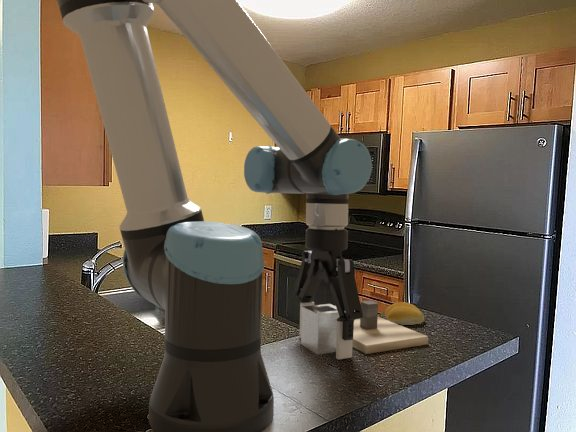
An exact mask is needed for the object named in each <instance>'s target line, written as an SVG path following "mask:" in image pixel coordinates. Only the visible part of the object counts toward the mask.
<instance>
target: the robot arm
mask: <svg viewBox="0 0 576 432" xmlns="http://www.w3.org/2000/svg"><path fill="white" fill-rule="evenodd" d="M55 1H56V2H57V5H58V9H59V12H60V15H61V19H62V23H63V25H64V26H65V27H66V28H68V29H69V30H71V31H72V32H73V33H74V34H76V35H77V36H79V39H80V42H81V46H82V50H83V54H84V57H85V61H86V64H87V68H88V72H89V76H90V79H91V82H92V87H93V91H94V94H95V99H96V102H97V105H98V110H99V113H100V115H101V120H102V124H103V127H104V131H105V135H106V139H107V142H108V145H109V149H110V150H109V151H110V153H111V158H112V161H113V164H114V169H115V172H116V176H117V179H118V182H119V187H120V190H121V195H122V199H123V202H124V205H125V209H126V214H125V216H124V218H123V220H122V221H121V223H120V224H119V231H120V234H121V239H122V242H123V246H124V251H123V255H122V269H123V273H124V276H125V278H126V280H127V282H128V284H129V286H130V287H131V288H132V290H133V291H134V292H136V294H137V295H138V296H139V297H141V298H142V299H144V301H147V302H150V303H151V304H153V305H155V306H156V307H158V308H160V309H162V310H163V311H164V355H163V360H162V362H161V364H160V365H161V366H160V368H159V371H158V374H157V377H156V380H155V382H154V383H155V384H154V386H153V389H152V391H151V394H150V398H149V402H148V424H149V426H150V428H151V429H152V430H153V432H262V431H263V430H265V429H266V428H267V427H268V426H269V425H271V422H272V420H273V419H274V413H275V412H274V410H275V409H274V408H275V407H274V406H275V401H274V400H275V398H274V393H273V389H272V386H271V382H270V378H269V376H268V373H267V368H266V367H265V363H264V358H263V355H262V348H261V347H262V346H261V344H262V343H261V341H262V339H261V338H262V309H263V307H262V306H263V304H262V303H263V271H264V269H265V262H264V253H263V242H262V240H261V237H260V236H259V235H258V233H257V232H256V231H255V230H252V229H250V228H247V227H245V226H241V225H239V224H232V223H231V224H230V223H225V222H219V221H205V219H204V215H203V211H202V207H201V206H200V205H198V204H196V203H195V202H193V201H192V200H190V199H189V198H188V194H187V190H186V185H185V181H184V178H183V173H182V169H181V166H180V161H179V157H178V153H177V150H176V149H177V147H176V145H175V140H174V137H173V132H172V129H171V124H170V120H169V116H168V111H167V108H166V104H165V100H164V95H163V90H162V87H161V83H160V79H159V78H160V77H159V74H158V70H157V67H156V66H157V65H156V62H155V57H154V54H153V49H152V45H151V41H150V37H149V36H150V35H149V33H148V29H147V28H148V25H149V23H150V21H151V20H152V18H153V16H154V15H155V8H154V5H153V4H156V5H157V6H158V7H159V8H160V9H161V10H162V11H163V13H164V14H165V15H166V16H167V17H168V18H169V19H170V21H171V22H172V23H173V24H174V25H175V27H177V29H178V30H179V31H180V33H181V34H182V35H183V37H185V39H187V41H188V42H189V44H191V46H192V47H193V48H194V49H195V50H196V52H197V53H198V54H199V55H200V56H201V58H202V59H203V60H204V61H205V62H206V63H207V65H208V66H209V67H210V68H211V69H212V71H213V72H214V73H215V74H216V75H217V77H219V79H220V80H221V81H222V83H223V84H225V86H226V87H227V88H228V89H229V91H230V92H231V93H232V94H233V95H234V96H235V98H236V99H237V100H238V102H240V104H242V106H243V107H244V108H245V109H246V111H247V112H248V113H249V114H250V115H251V117H253V119H254V120H255V121H256V122H257V123H258V125H259V126H260V127H261V129H263V130H264V132H265V133H266V134H267V136H268V137H269V138H270V139H271V140H272V141H273V143H274V144H275V145H276V146H272V145H267V146H266V145H265V146H262V145H257V146H254V147H252V148H251V149H250V150H249V151H248V153H247V154H246V156H245V159H244V164H243V166H244V167H243V176H244V180H245V183H246V185H247V187H248V188H249V189H250V190H251V191H252V192H255V193H262V194H263V193H264V194H270V195H271V194H299V195H300V194H303V195H304V194H305V197H306V199H305V200H306V203H305V224H306V225H307V226H308V228H306V230H305V248H306V249H307V250H303V251H302V252H301V264H300V268H299V272H298V275H297V278H296V279H297V280H296V282H295V283H296V284H295V287H294V290H293V291H294V292H293V295H294V297H297V298H298V302H299V303H300V304H299V307H300V308H299V337H300V338H301V326H302V306H313V305H315V302H314V301H315V300H316V299H315V297H314V296H315V295H316V293H317V291H318V288H319V286H320V284H321V282H322V281H323V282H325V284H326V285H327V286H328V287H329V289H330V293H331V295H332V299H333V301H334V304H335V305H334V306H336V307H337V310H338V313H339V316H340V317H339V318H338V319H337V335H336V352H335V358H336V360H337V361H338V360H343V359H350V358H353V347H352V340H353V330H354V320H355V319H361V318H362V317H363V313H362V309H361V301H360V296H359V291H358V287H357V282H356V278H355V271H354V270H355V269H354V265H355V264H354V261H353V259H350V258H348V259H347V258H346V259H343V256H342V255H343V254H342V252H344V251H346V250H347V249H348V246H349V245H348V244H349V230H347V229H346V228H345V227H347V226H348V225H349V203H350V201H349V200H350V199H349V198H350V195H351V194H354V193H355V194H356V193H357V192H359V191H361V190H362V189H363V188H364V187H365V186H367V183H368V181H369V180H370V177H371V174H372V171H373V169H372V167H373V165H372V164H373V163H372V162H373V161H372V158H371V154H370V151H369V149H368V148H367V147H366V145H365V144H364V143H363V142H360V141H359V140H358V139H354V138H349V137H347V138H346V137H344V138H343V137H342V138H341V137H340V136H339V134H338V132H337V131H336V130H335V129H334V128H333V127H332V125H331V124H330V122H329V121H328V120H327V118H326V117H325V116H324V113H322V112H321V110H320V109H319V108H318V105H316V103H315V102H314V101H313V99H312V98H311V97H310V96H309V94H308V93H307V92H306V90H305V89H304V88H303V86H302V85H301V83H300V82H299V81H298V79H297V78H296V76H295V75H294V74H293V72H292V71H291V70H290V69H289V67H288V66H287V64H286V63H285V62H284V61H283V59H282V58H281V57H280V55H279V54H278V52H276V50H275V49H274V47H273V46H272V44H271V43H270V42H269V41H268V39H267V38H266V36H265V35H264V34H263V33H262V31H261V30H260V29H259V27H258V26H257V24H256V23H255V22H254V20H253V19H252V18H251V16H250V15H249V14H248V12H247V11H246V10H245V8H244V7H243V6H242V5H241V3H240V1H239V0H55Z"/></svg>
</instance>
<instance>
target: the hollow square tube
mask: <svg viewBox="0 0 576 432" xmlns="http://www.w3.org/2000/svg"><path fill="white" fill-rule="evenodd" d="M339 317H340V316H339V313H338V310H337V307H336V305H333V304H331V303H325V304H324V303H323V304H314V305H313V306H302V326H301V337H300V345H301V346H303V347H304V348H306V349H308V350H309V351H311V352H313V354H315V355H324V354H331V353H336V335H337V319H338V318H339Z"/></svg>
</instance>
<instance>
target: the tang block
mask: <svg viewBox="0 0 576 432" xmlns="http://www.w3.org/2000/svg"><path fill="white" fill-rule="evenodd" d="M360 304H361V309H362V313H363V317H362V318H361V319H355V320H354V330H353V340H352V348H353V349H355V350H358V351H360V352H361V353H363V354H365V355H368V354H375V353H381V352H387V351H394V350H400V349H401V350H402V349H405V348H406V349H407V348H411V347H413V348H414V347H419V346H425V345H428V344H429V336H428V335H425V334H424V333H421V332H418V331H415V330H413V329H411V328H408V327H407V326H406V327H405V326H403V325H398V324H396V323H393V322H390V321H388V320H387V319H385V318H382V317H380V316H379V314H378V312H379V303H378V302H375V301H373V300H364V301H360Z"/></svg>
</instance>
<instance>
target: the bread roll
mask: <svg viewBox="0 0 576 432" xmlns="http://www.w3.org/2000/svg"><path fill="white" fill-rule="evenodd" d="M384 314H385V317H386V320H388V321H390V322H393V323H396V324H401V326H403V325H414V324H420V323H422V322H423V323H424V322H425V315H424V314H423V312H422V311H420V309H419V308H418V307H417V306H416V305H414V304H412V303H409V302H406V301H398V302H397V301H396V302H395V303H392V304H390V305H389V306H387V308H386V309H385V313H384ZM423 323H422V324H423ZM420 325H421V324H420Z"/></svg>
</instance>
